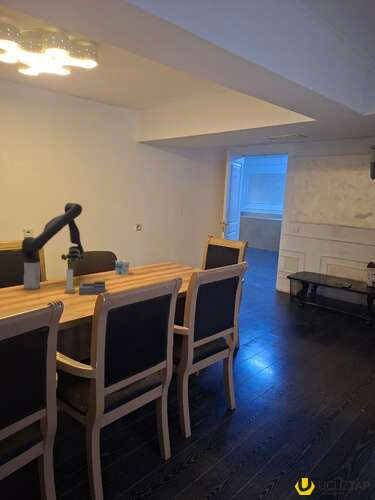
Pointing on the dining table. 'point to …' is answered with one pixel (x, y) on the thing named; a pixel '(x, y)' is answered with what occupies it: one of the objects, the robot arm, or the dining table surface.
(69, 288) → the steel post
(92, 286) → the keyhole board
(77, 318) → the dining table surface
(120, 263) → the light bulb box
